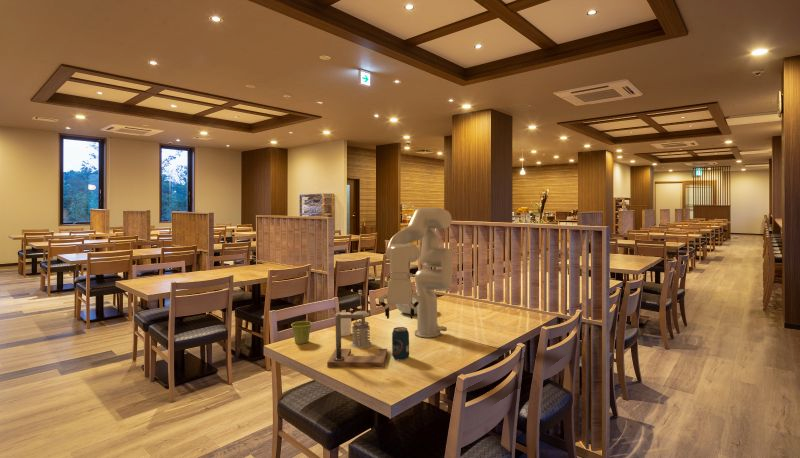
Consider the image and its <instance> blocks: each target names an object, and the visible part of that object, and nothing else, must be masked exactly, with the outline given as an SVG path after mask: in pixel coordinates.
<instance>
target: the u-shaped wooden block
mask: <svg viewBox="0 0 800 458" xmlns="http://www.w3.org/2000/svg"><path fill="white" fill-rule="evenodd" d="M351 354H352V348H341V356H342V357H344V360H342V361H334V357H336V348H335V349H334V350H333V352H332V354H331V356H330V357H329V358H328V360H327V362H326V363H327V366H326V367H327V368H385V363H386V360H387V357H388V348H378V351H377V354H376V355H351Z"/></svg>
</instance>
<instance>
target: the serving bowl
mask: <svg viewBox="0 0 800 458" xmlns="http://www.w3.org/2000/svg"><path fill="white" fill-rule="evenodd" d="M416 301H417V299H415V298H413V297H412V303H413V304H414V303H415V302H416ZM395 307H396V308H397V310H398V311H399V312H400V313H404V314H407V315H411V307H410V306H409V304H395ZM415 315H416V316H417V306H416V307H415V308H414V316H415Z"/></svg>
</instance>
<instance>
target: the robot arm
mask: <svg viewBox="0 0 800 458" xmlns="http://www.w3.org/2000/svg"><path fill="white" fill-rule="evenodd" d="M408 222H409V223H408V225H407V227H404V228H402V229H401V230H400V231H397V233H395V234H394V235H393V236H392V237H391V238H390V240H389V241H388V245H387V247H386V251H385V256H386V258H387V260H388V261H389V276H390V277H389V279H388V281H387V289H386V293H384V294H383V295H381V296H379V297H378V301H379V303H380V305H381V306H382V307H383V308H384V310H385V311H384V315H385V317H386V319H387V320H388V319H389V318H390V306H391V305H396V304H409V306H410V307H411V314H410V319H411V320H412V319H413V317H415V315H414V308H415V307H416V306H417V314H416V316H417V329H416V330H414V333H413V334H414V336H416V337H420V338H424V339H425V338H428V339H429V338H436V337H439V336H440V335H441V332H447V330H448V328H447V326H444V325H439V324H438V298H437V295H436V294H435V292H434V290H436V291H437V290H438V291H439V290H440V291H447V290H449V289H450V288H451V285H452V279H453V277H452V276H453V267H454V254H453V251H452V250H451V249H450V248H448V247H440V236H439V235H438V234H437V232H436V231H435V230H434V229H448V228H449V227H450V226H451V224H452V215H451V213H450V211H448V210H447V209H444V208H441V207H419V208H417V209H415V211H414V212H413V214H412V216H411V218H410V221H408ZM420 240H421V248H420V247H419V246H417V245H416V244H413V242H417V241H420ZM419 258H420V259H419ZM418 260H420V261H419V262H420V264H421V265H422V266H424V267H426V268H422V269H419V270H417V271H416V272H415V274H414V282H415V288H416V294H415V293H413V287H412V286H413V285H412V280H411V277H413V273H411V272H410V271H409V265H410V264H409V263H415V262H416V261H418ZM429 268H430V269H429ZM432 268H434V269H432ZM435 268H441V269H435ZM412 298H415V299H417V301H416V302H415V303H414V304H413V303H412ZM384 299H386V302H387V303H385V302H384Z"/></svg>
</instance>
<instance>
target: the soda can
mask: <svg viewBox="0 0 800 458" xmlns="http://www.w3.org/2000/svg"><path fill="white" fill-rule="evenodd" d="M391 348H392V349H391V350H392V352H391V353H392V357H393V358H394V360H396V361H405V360H407V359H408V358H409V356H410V332H409V330H408V328H407V327H405V326H404V327H403V326H397V327H394V328H393V330H392V332H391Z"/></svg>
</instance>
